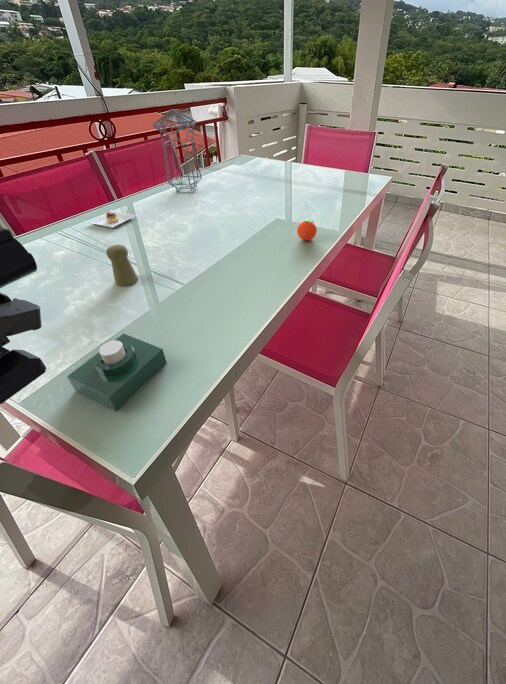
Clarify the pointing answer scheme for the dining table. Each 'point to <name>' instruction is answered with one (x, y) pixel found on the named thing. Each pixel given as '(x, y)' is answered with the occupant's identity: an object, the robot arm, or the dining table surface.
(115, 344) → the white push button
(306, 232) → the clementine
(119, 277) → the cork
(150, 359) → the green push button box
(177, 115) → the geometric lantern
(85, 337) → the dining table surface
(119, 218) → the dessert
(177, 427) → the dining table surface
